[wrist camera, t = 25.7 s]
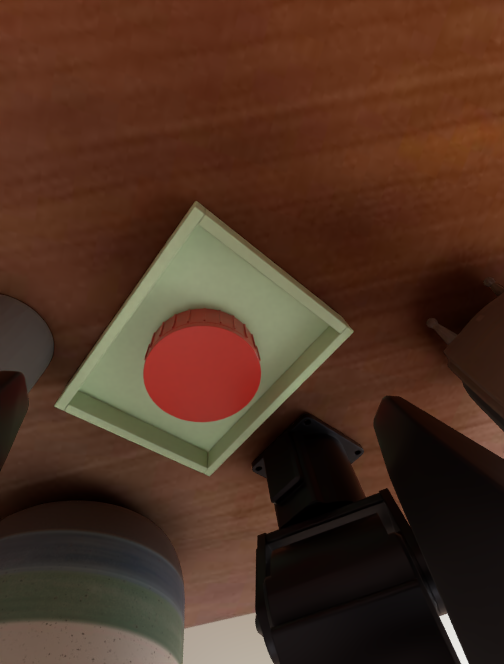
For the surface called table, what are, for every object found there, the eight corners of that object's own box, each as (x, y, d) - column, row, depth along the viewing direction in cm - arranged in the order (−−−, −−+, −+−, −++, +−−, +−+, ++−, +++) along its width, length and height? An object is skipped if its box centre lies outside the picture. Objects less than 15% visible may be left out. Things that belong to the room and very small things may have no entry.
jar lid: (126, 364, 21) (117, 387, 19) (194, 284, 19) (192, 300, 17) (211, 415, 24) (212, 439, 22) (279, 348, 22) (286, 368, 20)
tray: (342, 317, 22) (354, 332, 20) (209, 454, 26) (209, 476, 24) (195, 200, 18) (194, 205, 16) (65, 386, 22) (53, 406, 20)
